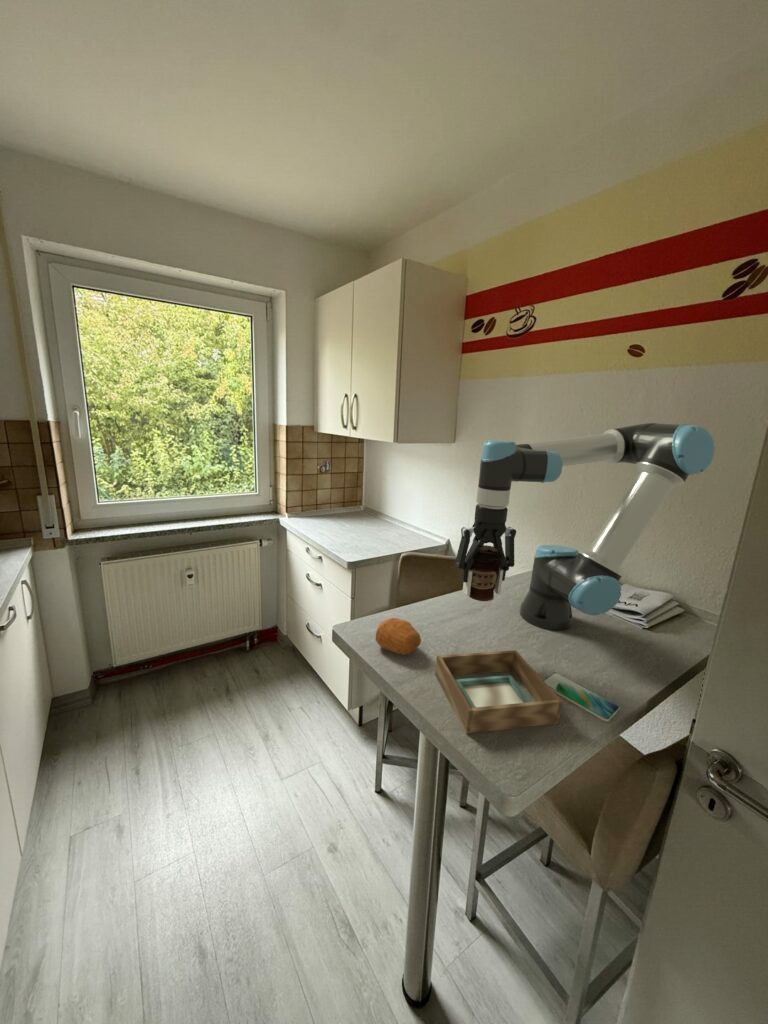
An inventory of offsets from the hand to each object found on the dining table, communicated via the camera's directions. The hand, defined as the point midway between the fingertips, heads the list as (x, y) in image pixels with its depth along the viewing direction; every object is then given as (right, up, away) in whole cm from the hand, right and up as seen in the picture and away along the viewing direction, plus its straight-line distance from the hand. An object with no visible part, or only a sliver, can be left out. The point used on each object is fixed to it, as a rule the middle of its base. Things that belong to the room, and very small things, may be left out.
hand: (481, 592), depth 103 cm
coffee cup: (0, -1, 0) cm, 1 cm away
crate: (-1, -20, -15) cm, 25 cm away
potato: (-21, -15, 0) cm, 26 cm away
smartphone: (+19, -21, -13) cm, 31 cm away
